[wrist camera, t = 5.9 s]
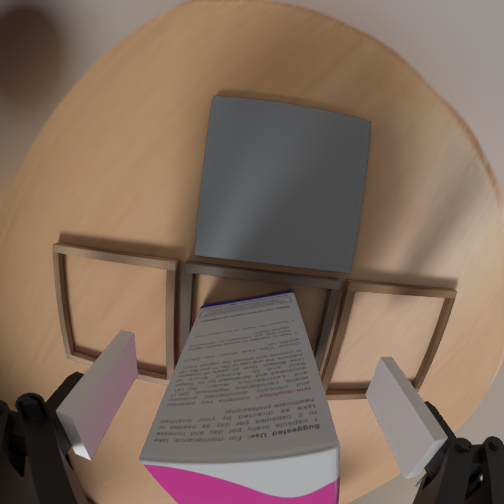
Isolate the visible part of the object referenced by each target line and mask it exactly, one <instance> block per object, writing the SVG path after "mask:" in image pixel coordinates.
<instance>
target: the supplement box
mask: <svg viewBox="0 0 504 504" xmlns="http://www.w3.org/2000/svg"><path fill="white" fill-rule="evenodd" d="M139 460H140V461H141V463H142V464H143V465H144V466H145V467H146V468H147V470H148V471H149V472H150V473H151V474H152V476H153V477H154V478H155V479H156V480H157V481H158V483H159V484H160V485H161V486H162V487H163V488H164V489H165V490H166V491H167V492H168V493H169V494H170V495H171V496H172V497H173V499H174V500H175V501H176V502H177V503H178V504H338V501H339V486H340V443H339V440H338V438H337V434H336V431H335V427H334V423H333V419H332V416H331V412H330V409H329V405H328V402H327V398H326V395H325V392H324V388H323V385H322V382H321V378H320V375H319V372H318V368H317V365H316V361H315V358H314V355H313V352H312V348H311V345H310V342H309V339H308V336H307V332H306V329H305V326H304V323H303V320H302V317H301V313H300V310H299V307H298V304H297V300H296V296H295V292H294V290H293V289H291V290H285V291H280V292H275V293H270V294H265V295H259V296H254V297H249V298H242V299H237V300H230V301H224V302H218V303H212V304H206V305H203V306H201V308H200V311H199V313H198V315H197V317H196V320H195V322H194V324H193V327H192V329H191V331H190V334H189V336H188V339H187V341H186V343H185V346H184V348H183V350H182V353H181V355H180V357H179V360H178V362H177V365H176V367H175V370H174V372H173V375H172V377H171V379H170V382H169V384H168V386H167V389H166V391H165V394H164V396H163V399H162V401H161V404H160V406H159V409H158V411H157V414H156V417H155V419H154V422H153V424H152V426H151V429H150V432H149V434H148V437H147V439H146V442H145V444H144V447H143V449H142V452H141V454H140V457H139Z"/></svg>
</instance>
